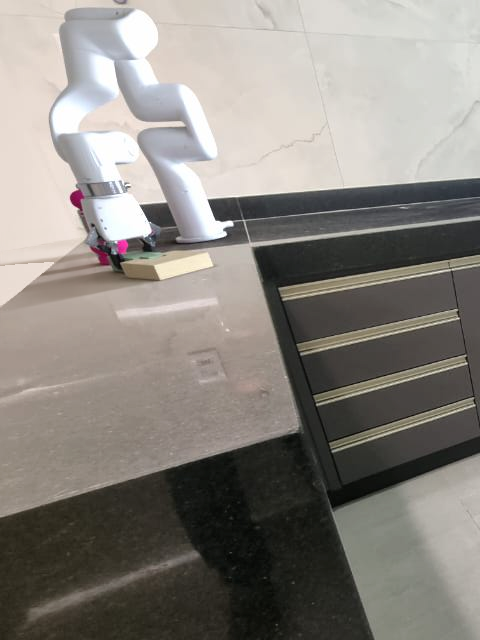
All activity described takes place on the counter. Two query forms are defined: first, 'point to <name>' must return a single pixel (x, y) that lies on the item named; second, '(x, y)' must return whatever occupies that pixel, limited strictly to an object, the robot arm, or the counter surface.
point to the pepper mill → (76, 202)
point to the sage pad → (136, 257)
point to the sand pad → (167, 265)
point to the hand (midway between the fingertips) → (138, 265)
